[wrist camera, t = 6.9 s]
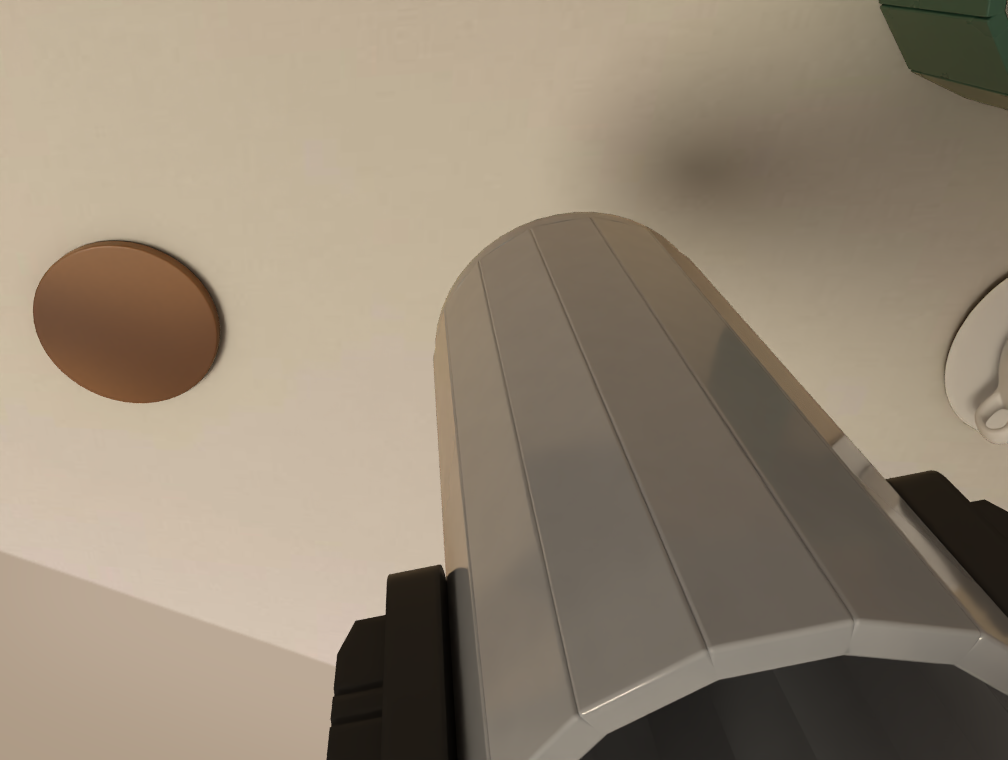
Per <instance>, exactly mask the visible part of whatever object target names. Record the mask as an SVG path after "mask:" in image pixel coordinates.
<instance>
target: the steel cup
mask: <svg viewBox="0 0 1008 760" xmlns="http://www.w3.org/2000/svg"><path fill="white" fill-rule="evenodd" d="M433 365H434V382H435V399H436V416H437V433H438V450H439V467H440V484H441V500H442V517H443V534H444V551H445V568H446V583H447V600H448V617H449V634H450V652H451V669H452V686H453V703H454V720H455V737H456V754H457V760H1008V618H1007V616H1006V615H1005V614H1004V613H1003V612H1002V611H1001V610H1000V609H999V607H998V606H997V605H996V604H995V603H994V602H993V601H992V600H991V598H990V597H989V596H988V595H987V594H986V593H985V592H984V591H983V589H982V588H981V587H980V586H979V585H978V584H977V583H976V581H975V580H974V579H973V578H972V577H971V576H970V575H969V574H968V572H967V571H966V570H965V569H964V568H963V567H962V566H961V565H960V563H959V562H958V561H957V560H956V559H955V558H954V557H953V556H952V554H951V553H950V552H949V551H948V550H947V549H946V548H945V546H944V545H943V544H942V543H941V542H940V541H939V540H938V539H937V537H936V536H935V535H934V534H933V533H932V532H931V531H930V530H929V528H928V527H927V526H926V525H925V524H924V523H923V522H922V521H921V519H920V518H919V517H918V516H917V515H916V514H915V513H914V511H913V510H912V509H911V508H910V507H909V506H908V505H907V504H906V502H905V501H904V500H903V499H902V498H901V497H900V496H899V495H898V493H897V492H896V491H895V490H894V489H893V488H892V487H891V485H890V484H889V483H888V482H887V481H886V480H885V479H884V478H883V476H882V475H881V474H880V473H879V472H878V471H877V470H876V469H875V467H874V466H873V465H872V464H871V463H870V462H869V461H868V460H867V458H866V457H865V456H864V455H863V454H862V453H861V452H860V450H859V449H858V448H857V447H856V446H855V445H854V444H853V443H852V441H851V440H850V439H849V438H848V437H847V436H846V435H845V434H844V432H843V431H842V430H841V429H840V428H839V427H838V426H837V425H836V423H835V422H834V421H833V420H832V419H831V418H830V417H829V415H828V414H827V413H826V412H825V411H824V410H823V409H822V408H821V406H820V405H819V404H818V403H817V402H816V401H815V400H814V399H813V397H812V396H811V395H810V394H809V393H808V392H807V391H806V390H805V388H804V387H803V386H802V385H801V384H800V383H799V382H798V380H797V379H796V378H795V377H794V376H793V375H792V374H791V373H790V371H789V370H788V369H787V368H786V367H785V366H784V365H783V364H782V362H781V361H780V360H779V359H778V358H777V357H776V356H775V355H774V353H773V352H772V351H771V350H770V349H769V348H768V347H767V345H766V344H765V343H764V342H763V341H762V340H761V339H760V338H759V336H758V335H757V334H756V333H755V332H754V331H753V330H752V329H751V327H750V326H749V325H748V324H747V323H746V322H745V321H744V320H743V318H742V317H741V316H740V315H739V314H738V313H737V312H736V310H735V309H734V308H733V307H732V306H731V305H730V304H729V303H728V301H727V300H726V299H725V298H724V297H723V296H722V295H721V294H720V292H719V291H718V290H717V289H716V288H715V287H714V286H713V285H712V283H711V282H710V281H709V280H708V279H707V278H706V277H705V275H704V274H703V273H702V272H701V271H700V270H699V269H698V268H697V266H696V265H695V264H694V263H693V262H692V261H691V260H690V259H689V258H688V257H687V256H685V255H684V254H682V253H681V252H680V251H679V250H678V249H677V248H676V247H675V246H674V245H673V244H671V243H670V242H669V241H668V240H667V239H666V238H664V237H663V236H662V235H660V234H658V233H657V232H655V231H654V230H652V229H650V228H649V227H647V226H644V225H642V224H640V223H638V222H635V221H633V220H630V219H627V218H623V217H620V216H616V215H611V214H604V213H597V212H573V213H565V214H557V215H552V216H549V217H545V218H541V219H537V220H534V221H532V222H529V223H527V224H524V225H522V226H519V227H517V228H515V229H513V230H512V231H510V232H508V233H506V234H504V235H502V236H501V237H499V238H498V239H497V240H495V241H494V242H492V243H491V244H490V245H488V246H487V247H486V248H484V249H483V250H482V251H481V252H480V253H479V254H478V255H477V256H476V257H475V258H474V259H473V260H472V261H471V262H470V263H469V264H468V265H467V267H466V268H465V269H464V270H463V271H462V273H461V274H460V275H459V277H458V278H457V280H456V281H455V283H454V285H453V286H452V288H451V290H450V291H449V293H448V296H447V298H446V300H445V302H444V305H443V307H442V310H441V314H440V317H439V320H438V324H437V331H436V338H435V352H434V356H433Z"/></svg>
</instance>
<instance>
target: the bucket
mask: <svg viewBox="0 0 1008 760" xmlns="http://www.w3.org/2000/svg"><path fill="white" fill-rule="evenodd" d="M1006 2H1007V0H879V3H880V4H882V5H881V6H880V8H881V11H882V13H883V15H884V17H885V19H886V21H887V23H888V25H889V28H890V30H891V32H892V34H893V36H894V38H895V40H896V42H897V45H898V47H899V49H900V51H901V53H902V55H903V57H904V59H905V62H906V64H907V66H908V68H909V69H911V72H913V73H915V74H917V75H919V76H921V77H923V78H925V79H927V80H929V81H931V82H934V83H936V84H938V85H940V86H942V87H944V88H946V89H948V90H950V91H952V92H954V93H956V94H958V95H960V96H962V97H964V98H967V99H970V100H974V101H978V102H981V103H985V104H988V105H992V106H995V107H999V108H1003V109H1006V110H1008V18H1007V15H1006V13H1005V8H1006Z"/></svg>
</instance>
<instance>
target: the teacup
mask: <svg viewBox="0 0 1008 760" xmlns="http://www.w3.org/2000/svg"><path fill="white" fill-rule="evenodd" d="M945 388H946V393H947V397H948V400H949V403H950V405H951V407H952V409H953V410H954V412H955V413H956V415H957V416H958V417H959V418H960V419H961V420H962V421H963V422H964V423H966V424H967V425H969V426H970V427H972V428H974V429H976V430H978V431H979V432H980V434H981V435H982V436H983V437H984V438H985V439H986V440H988V441H989V442H991V443H994V444H1006V443H1008V278H1007V279H1005V280H1004V281H1003V282H1001V283H1000V284H999V285H998V286H996V287H995V288H994V289H993V290H992V291H991V292H989V293H988V294H987V295H986V296H985V297H984V298H983V299H982V300H981V301H980V303H979V304H978V305H977V306H976V307H975V308H974V309H973V311H972V312H971V313H970V314H969V316H968V317H967V319H966V320H965V322H964V323H963V325H962V326H961V328H960V329H959V331H958V333H957V335H956V337H955V339H954V341H953V344H952V346H951V349H950V352H949V355H948V359H947V363H946V368H945Z"/></svg>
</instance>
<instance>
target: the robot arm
mask: <svg viewBox="0 0 1008 760" xmlns="http://www.w3.org/2000/svg"><path fill="white" fill-rule="evenodd" d="M885 480H886V481H887V482H888V483H889V484H890V485H891V487H892V488H893V489H894V490H895V491H896V492H897V493H898V495H899V496H900V497H901V498H902V499H903V500H904V501H905V502H906V504H907V505H908V506H909V507H910V508H911V509H912V510H913V511H914V513H915V514H916V515H917V516H918V517H919V518H920V519H921V521H922V522H923V523H924V524H925V525H926V526H927V527H928V528H929V530H930V531H931V532H932V533H933V534H934V535H935V536H936V537H937V539H938V540H939V541H940V542H941V543H942V544H943V545H944V546H945V548H946V549H947V550H948V551H949V552H950V553H951V554H952V556H953V557H954V558H955V559H956V560H957V561H958V562H959V563H960V565H961V566H962V567H963V568H964V569H965V570H966V571H967V572H968V574H969V575H970V576H971V577H972V578H973V579H974V580H975V581H976V583H977V584H978V585H979V586H980V587H981V588H982V589H983V591H984V592H985V593H986V594H987V595H988V596H989V597H990V598H991V600H992V601H993V602H994V603H995V604H996V605H997V606H998V607H999V609H1000V610H1001V611H1002V612H1003V613H1004V614H1005V615H1006V616H1007V618H1008V512H1007V511H1005V510H1003V509H1001V508H1000V507H998V506H996V505H994V504H992V503H990V502H988V501H986V500H980V501H974V502H970V501H969V500H968V499H967V498H966V497H965V496H964V495H963V494H962V493H961V492H960V491H959V490H958V489H957V488H956V487H955V486H954V485H953V484H952V483H951V482H950V481H949V480H948V479H947V478H946V477H944V476H943V475H942V474H941V473H939V472H937V471H926V472H920V473H915V474H910V475H905V476H900V477H895V478H890V479H885ZM334 694H335V695H334V697H333V701H332V711H331V727H330V731H329V741H328V750H327V760H457V754H456V737H455V720H454V703H453V686H452V669H451V652H450V634H449V617H448V600H447V583H446V577H445V574H444V570H443V568H442V566H441V565H436V566H430V567H425V568H420V569H415V570H410V571H405V572H400V573H395V574H389V575H388V579H387V593H386V615H383V616H378V617H373V618H368V619H363V620H357V621H355V623H354V625H353V627H352V628H351V630H350V632H349V634H348V636H347V637H346V639H345V641H344V643H343V645H342V647H341V648H340V650H339V652H338V654H337V662H336V672H335V681H334Z"/></svg>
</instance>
